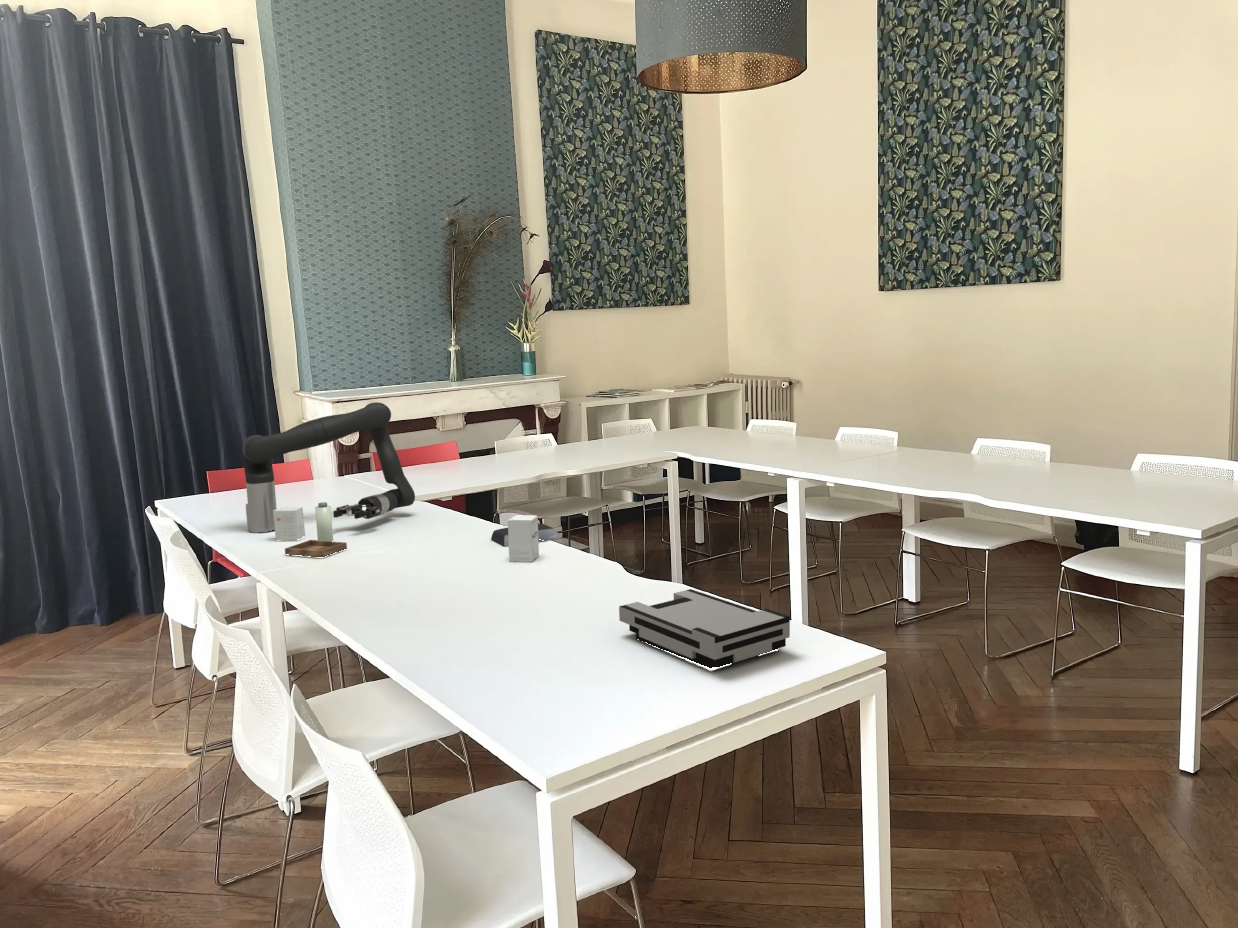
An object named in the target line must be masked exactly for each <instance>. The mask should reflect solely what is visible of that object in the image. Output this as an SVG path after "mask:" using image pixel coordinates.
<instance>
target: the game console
mask: <svg viewBox="0 0 1238 928" xmlns="http://www.w3.org/2000/svg"><path fill="white" fill-rule="evenodd" d="M618 615H619V617H618V619H619V622H622V623H625V624H626V625H629V632H630V633H631V632H632V633H634V634H636V636H635V637H636V639H639V640H640V641H643V642H647V643H648V644H651V645H653V646H656V647H658V648H660V649H663V650H666V651H669V652H671V653H674V654H676V655H678V656H681V657H684V658H687V659H689V660H691V661H694V662H696V663H699V664H701V665H704V666H707V667H709V668H712V667H720V666H723V665H726V664H730V663H733V664H734V663H736V662H740V661H743V660H747V659H749V658H753V657H757V655H760V654H763V653H767V652H770V651H772V650H775V649H778V648H779V649H781V648H784V647H786V646H787V645H786V643H787V642H786V639H788V638H790V635H791V634H790V633H791V626H790V623H791V619H790V618H791V616H790V615H786V614H784V613H781V612H778V611H775V610H771V609H770V608H769V609H768V608H764V609H761V610H755V609H752V608H748V607H746V606H743V605H740V604H737V603H734V602H731V601H727V600H725V599H721V598H719V597H716V596H713V595H710V594H706V593H704V592H700V591H697V590H694V589H691V588H689V589H686V590H681V591H677V592H673V599H672V600H668V601H664V602H660V603H656V604H651V605H647V604H644V603H642V602H639V601H636V602H631V603H628V604H623V605H620V606H618ZM636 639H635V640H636ZM640 641H639V642H640Z"/></svg>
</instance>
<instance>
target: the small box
mask: <svg viewBox="0 0 1238 928" xmlns="http://www.w3.org/2000/svg"><path fill="white" fill-rule="evenodd" d="M273 515H274V526H275V531H274V535H275V541H276V540H297V539H300V538H302V537H303V536H305V537H306V531H305V519H304V509H303V506H295V507H294V506H291V507H289V506H285V507H282V506H281V507H278V508H277V509H276V510H274V511H273Z"/></svg>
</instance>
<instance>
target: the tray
mask: <svg viewBox="0 0 1238 928" xmlns="http://www.w3.org/2000/svg"><path fill="white" fill-rule="evenodd" d="M347 543H348V542H344V541H333V542H332V541H319V540H318V539H317V540H315V539H309V540H306V541H303V542H300V543H297V544H294V545H291V546H288V547H285V548H284V555H285V554H289V555H302V556H311V557H325V556H327V555H330V554H333V553H335V552H339V551H341V550H344V549H347V550H348V545H347ZM339 553H340V552H339Z"/></svg>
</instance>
